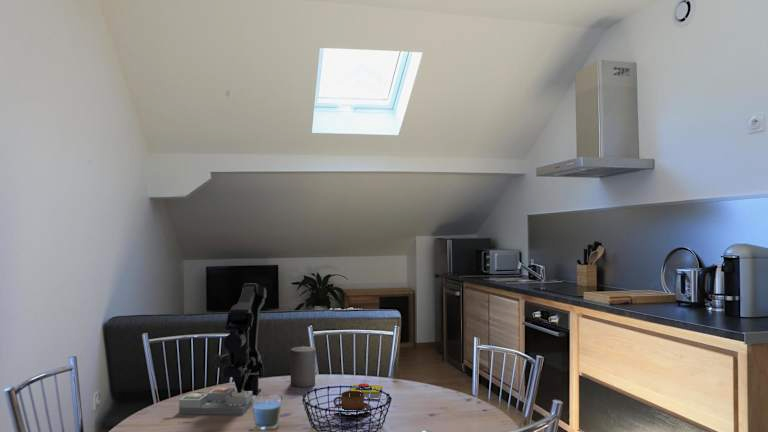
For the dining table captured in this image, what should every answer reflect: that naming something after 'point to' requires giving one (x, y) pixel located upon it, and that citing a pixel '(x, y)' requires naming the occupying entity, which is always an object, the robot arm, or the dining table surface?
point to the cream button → (239, 393)
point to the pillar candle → (302, 366)
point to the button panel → (216, 403)
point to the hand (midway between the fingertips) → (239, 392)
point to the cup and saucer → (352, 401)
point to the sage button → (194, 396)
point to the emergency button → (368, 390)
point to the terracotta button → (221, 390)
